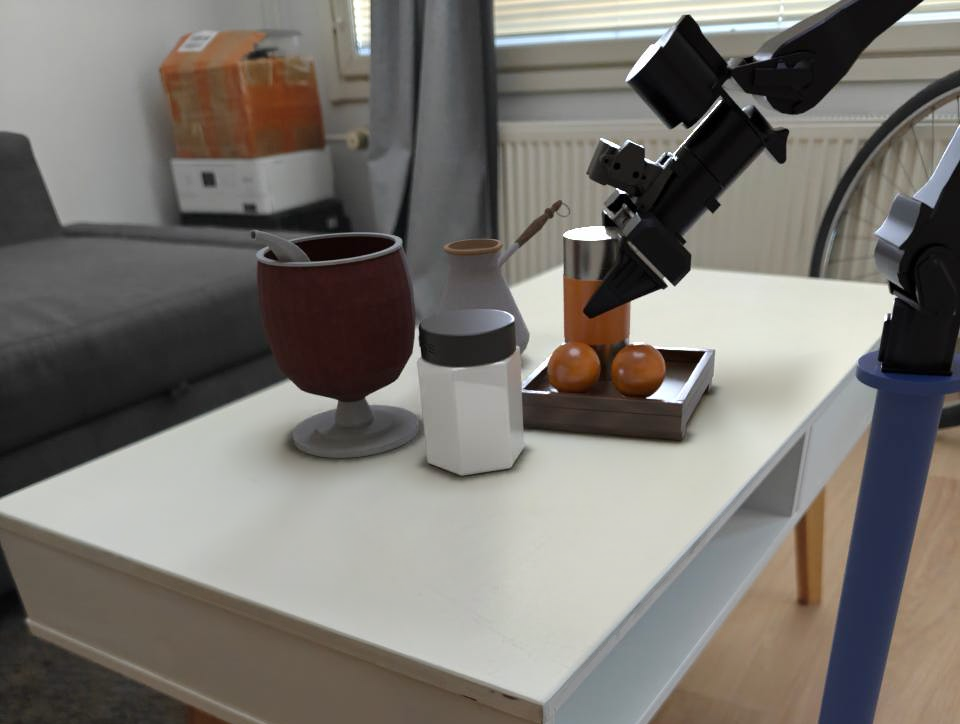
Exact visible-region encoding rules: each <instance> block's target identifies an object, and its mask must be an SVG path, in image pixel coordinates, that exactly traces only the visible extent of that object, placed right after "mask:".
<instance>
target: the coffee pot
mask: <svg viewBox="0 0 960 724" xmlns="http://www.w3.org/2000/svg"><path fill="white" fill-rule="evenodd" d="M562 205H563V206H564V207H566V208H567V209H568V214H567V215H564V214H561V213H560V212H558V211H559V210H560V208H561V207H562ZM555 214H556V215H558V216H559V217H561V218H567V217H569V216H570V215H571V208H570V206H569V205H568V204H566V203H565V202H564V201H563V200H561V199H559V200H556V201H555V202H553V204H552V205H551V207H547V208H545V209H544V213H543V214H541V215H540V216H538V217H537V218H535V219H533V221H532V222H531V223H530V224H529V225H528V226H527V228H526V229H525V230H524V231H523V232H522V233H521V234H520V235H518V238H517V239H516V240H515V241H514V242H513V244H512V245H510V246H509V247H508V248H507V249H506V250H505V251H504V252H503V253H501V255H500V250H501V249H502V248H503V246H504V242H503V241H502V240H499V239H493V238H470V239H463V240H457V241H452V242H449V243H447V244H445V245H444V246H443V252H444V253H445V254H447V256H448V260H449V263H450V269H449V274H448V275H447V279H446V282H445V286H444V289H443V292H442V294H441V299H440V302H439V306H438V309H437V312H436V315H437V314H440V313H445V312H450V311H456V310H466V309H490V310H498V311H503V312H506V313H508V314H510V315H512V316H513V317H514V319H515V330H516V346H519V347H520V356H522V354H523V353H524V352H525V351H526V349H527V348H528V345H529V342H530V338H531V337H530V335H531V334H530V331H529V329H528V326H527V324H526V322H525V320H524V318H523V316H522V313H521V311H520V309H519V307H518V304H517V303H516V301H515V300H516V299H515V298H514V295H513V293H512V291H511V290H510V287H509V285H508V282H507V280H506V278H505V276H504V274H503V271H502V269H501V267H502V266H503V265H505V264H506V262H508V260H509V259H510V258H511V257H512V256H513V255H514V254H515V253H516V252H517V250H518V249H521V248H522V247H523V246H524V245H525V244H527V242H529V241H530V240H531V239H532V238H534V236H535V235H537V234H538V233H539V232H540V231H541V230H542V229H543V227H544V226H545V225H546V223H547V222H548V221H549V220H550V219H553V218H554V216H555Z"/></svg>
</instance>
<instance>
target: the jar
mask: <svg viewBox="0 0 960 724" xmlns="http://www.w3.org/2000/svg"><path fill="white" fill-rule="evenodd" d="M417 330H418V337H417V338H418V346H419V348H420V357H419V358H418V359H417V360H416V364H417V366H416V367H417V376H418V384H419V392H420V393H419V394H420V403H421V413H422V422H423V431H424V433H423V434H424V441H425V450H426V452H425V453H426V461H427V463H428V464H430V465H432V466H435V467H438V468H441V469H443V470H445V471H448V472H450V473H453V474H456V475H458V476H461V477H462V476H463V477H464V476H469V475H475V474H482V473H488V472H489V473H490V472H496V471H500V470H501V471H502V470H508V469H511V468H512V467H513V465H514V464H515V462H516V460H517V459H518V457H519V456H520V454H521V453H522V451H523V450H524V448H525V441H524V440H525V438H524V437H525V436H524V427H523V409H522V385H521V383H522V363H521V355H520V347H519V346H516V330H515V319H514V317H513V316H512V315H510V314H508V313H506V312H503V311H498V310H490V309H466V310H456V311H450V312H445V313H440V314H437V313H436V314H433V315H431V316H428V317H426V318H424V319H423V320H422V321H421V322H419V324H418V329H417Z"/></svg>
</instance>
